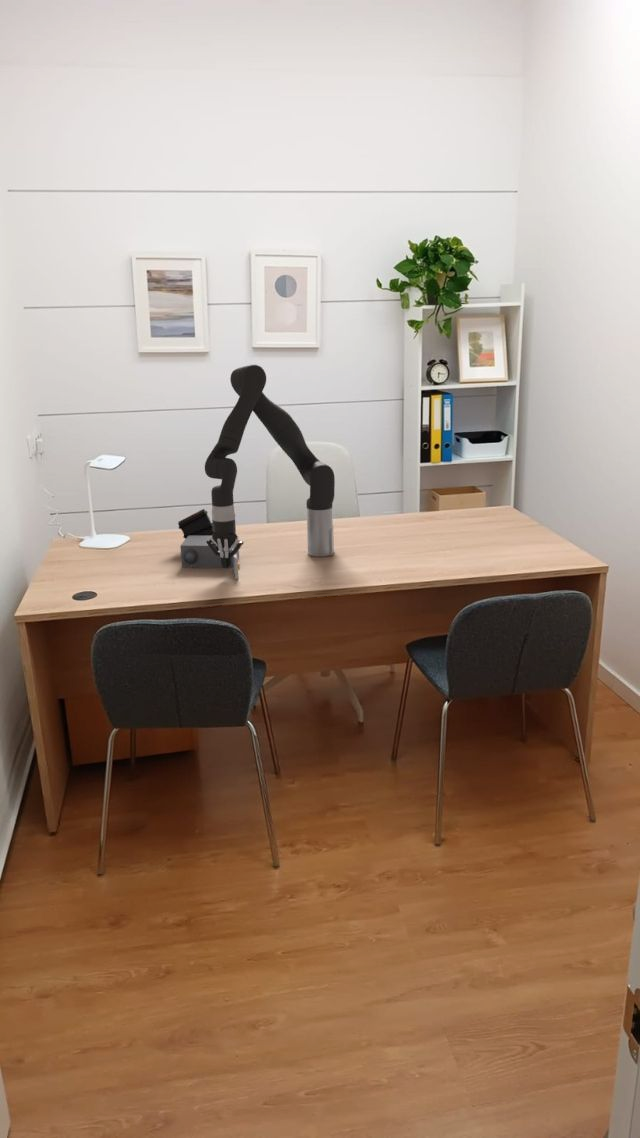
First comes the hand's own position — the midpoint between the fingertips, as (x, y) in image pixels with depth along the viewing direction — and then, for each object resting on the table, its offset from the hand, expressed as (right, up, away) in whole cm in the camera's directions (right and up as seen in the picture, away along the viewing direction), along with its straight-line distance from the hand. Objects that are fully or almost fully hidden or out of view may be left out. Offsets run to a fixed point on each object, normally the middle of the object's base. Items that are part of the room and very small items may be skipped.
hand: (226, 567), depth 286 cm
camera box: (-7, +2, +17) cm, 19 cm away
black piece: (-14, +7, +32) cm, 36 cm away
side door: (+3, -2, +4) cm, 6 cm away
